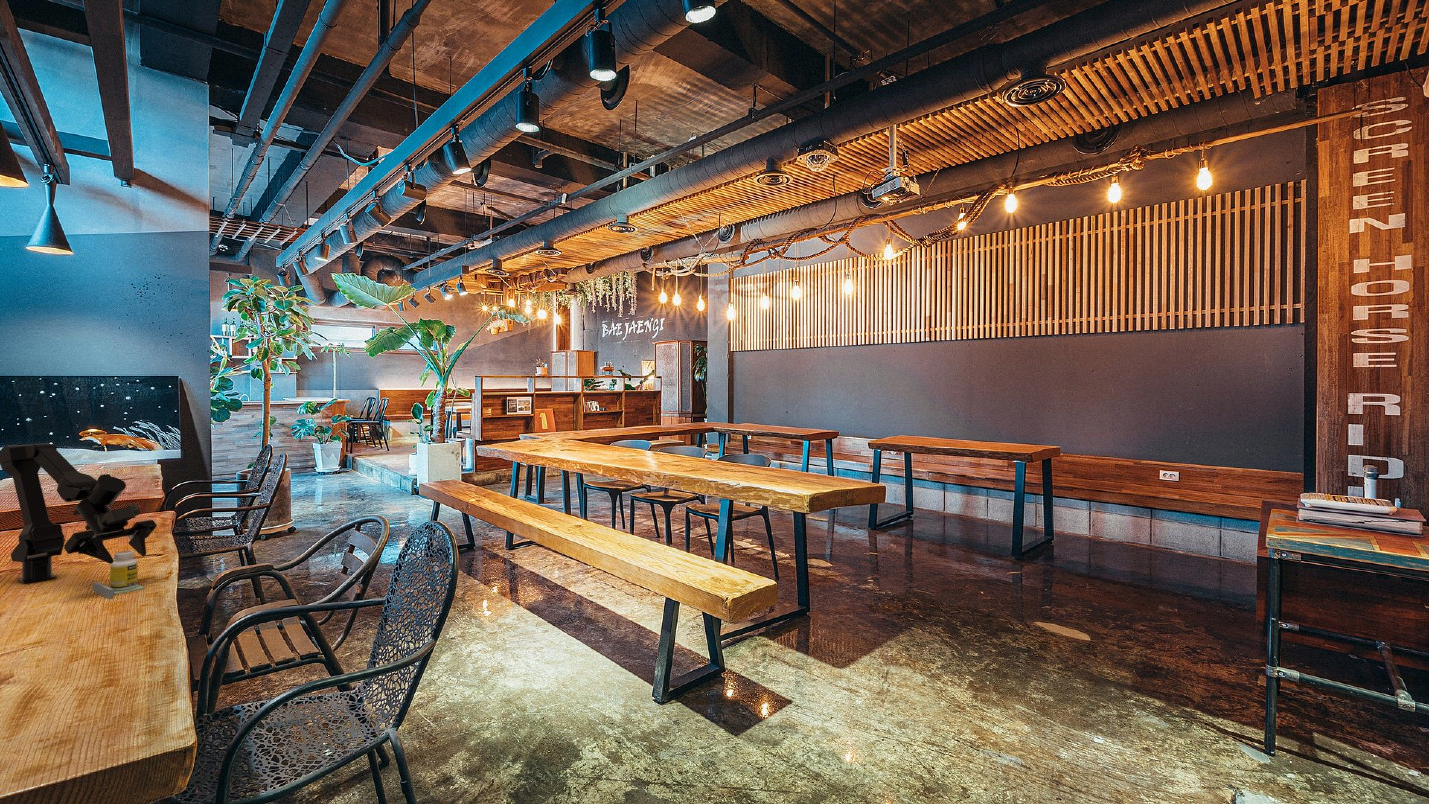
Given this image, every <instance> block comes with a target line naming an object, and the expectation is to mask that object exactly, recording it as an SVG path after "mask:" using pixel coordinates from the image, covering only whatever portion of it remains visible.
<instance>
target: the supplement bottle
mask: <svg viewBox="0 0 1429 804" xmlns="http://www.w3.org/2000/svg"><path fill="white" fill-rule="evenodd" d="M134 557H135V550H122V551H117V552H115V553H114V555H113V560H114V562H113V563H112V564H110V566H109V567H110V571H109V572H110V574H109V575H110V576H109V578H110V579H109V585H110V586H109V587H110V588H112V589H114V591H120V590H127V589H131V588H134V587H136V586H137V585H138V578H139V577H138V573H139V572H138V566H139V563H138V562H139V561H138V559H136V558H134Z"/></svg>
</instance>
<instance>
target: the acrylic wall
mask: <svg viewBox="0 0 1429 804" xmlns="http://www.w3.org/2000/svg"><path fill="white" fill-rule="evenodd" d="M93 591H94V592H93ZM92 592H93V593H95V594H97V595H99V594H100V595H99V596H101V597H103V598H106V597H107V598H106V599H107V600H112V599H113V598H114V599H115V595H114V589H112V588H110V586H108V585H105V584H103V583H101V582H98V581H94V582H93V581H92ZM114 599H113V600H114Z"/></svg>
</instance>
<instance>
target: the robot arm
mask: <svg viewBox="0 0 1429 804" xmlns="http://www.w3.org/2000/svg"><path fill="white" fill-rule="evenodd" d="M0 467H1V468H0V469H1V470H2V471H4V473H6V474H7V475H9V476H11V478H12V479H13V484H14V488H15V492H16V496H17V497H16V498H17V500H18V503H19V508H20V513H21V516H22V521H23V524H24V526H23V528H22V530H21V532H20V534H19V535H18V544H17V545H16V547H14V549H13V550H12V551H11V553H10V557H11V561H12V562H17V563H21V568H22V569H21V573H22V574H21V577H19V578H17V582H20V583H21V584H30V583H36V582H41V581H47V580H53V579H57V575H55V574H54V573H53V571H52V570H53V567H52V566H53V564H52V563H53V560H52V559H53V557H55V556H61V555H62V554H63V549H64V550H65V552H66V553H67V554H68V555H71V554H75V553H78V554H79V555H81V554H82V555H85V556H89V557H92V558H95V559H98V560H100V561H103V562H105V563H108V564H110V565H111V564H112V563H113V562H114V561H115V559H114V557H113V556H112V555H111V554H110V552H109V551H108V549H107V548H106V545H104V541H109V540H110V541H111V540H114V539H121V538H124V537H128V538H129V541H128V545H130V547H131V548H133V550H134V551H136V553H138V554H139V555H140V557H141V556H142V557H146V555H147V549H146V548H147V546H146V539H147V538H148V537H149V536H150V535H151V534H152V533H153V531H154V530H155V529H156V528H157V527H158V525H157V523H156V522H155V521H154V519H144V520H141V521H136V522H135V523H134V524H133V525H132V527H130V528H125V527H126V526H128V524H129V521H130V520H132V519H135V518H136V517H137V516H140V515H141V513H142V512H141V509H140V507H139V506H138V505H137V504H136V503H135V504H130V505H128V506H125V507H118V508H114V509H111V507H110V505H112V504H114V503H115V502H116V501H117V499H118V498H119V497H120V495H121V494H122V493H123V492H124V491H125V490H126V488H127V487H126V486H127V484H126V482H125V481H124V480H122V479H121V478H119V477H115V476H111V474H110V473H106V474H104V473H103V474H100V475H99V476H98V478H97V479H96V478H94V477H93V476H91V475H89V474H87V473H83V472H80V471H79V470H78V469H76V468H75V467H74V466H73V465H72V464H71V463H70V462H69V461H68V460H67V459H66V458H65V457H64V456H63V455H62V454H61V453H60V452H59V451H58V450H57V446H56V445H55V444H53V443H49V442H48V443H34V444H33V443H32V444H16V445H5V446H3V447H2V448H1V449H0ZM41 468H42V470H44V472H45V473H47V474H48V475H49V476H50V477H51V479H52V480H53V481H55V483H56V484H57V486H56V492H57V494H58V495H59V497H60V498H61V499H62V500H63V501H64V502H65V503H72V502H73V503H74V502H78V504H76V505H75V507H74V509H73V512H72V515H73V516H79V515H80V516H81V517H82V519H83V520H84V522H85V523H86V525H85V526H84V528H85V530H83V531H77V532H73V534H71V536H70V538H69V539H67V541H66V538H65V535H64V532H63V529H62V528H63V527H62V525H61V523H54V522H52V521H51V520H50V517H49V512H48V508H47V505H46V501H45V497H44V492H43V488H42V484H41V480H40V476H39V471H40V470H41Z"/></svg>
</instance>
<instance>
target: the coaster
mask: <svg viewBox="0 0 1429 804" xmlns="http://www.w3.org/2000/svg"><path fill="white" fill-rule="evenodd" d="M141 590H145V587H144V586H143V585H139V584H137V586H136V587H134V588H131V589H127V590H120V591H114V594H117V595H121V594H126V592H127V593H131V592H136V591H141ZM130 591H131V592H130Z"/></svg>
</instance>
